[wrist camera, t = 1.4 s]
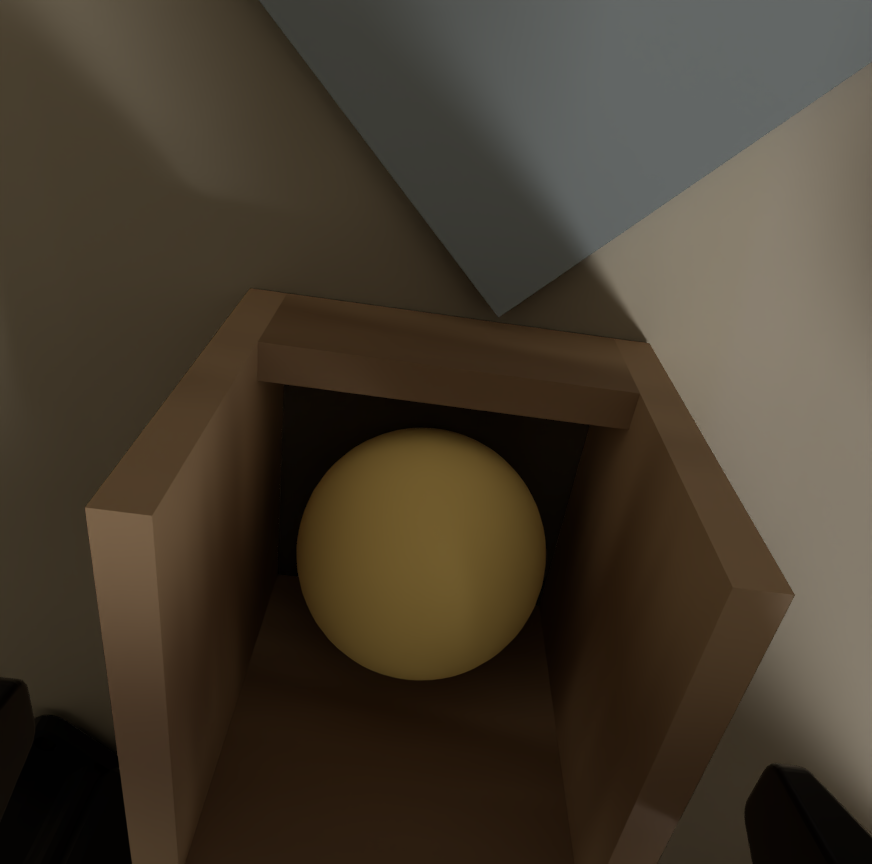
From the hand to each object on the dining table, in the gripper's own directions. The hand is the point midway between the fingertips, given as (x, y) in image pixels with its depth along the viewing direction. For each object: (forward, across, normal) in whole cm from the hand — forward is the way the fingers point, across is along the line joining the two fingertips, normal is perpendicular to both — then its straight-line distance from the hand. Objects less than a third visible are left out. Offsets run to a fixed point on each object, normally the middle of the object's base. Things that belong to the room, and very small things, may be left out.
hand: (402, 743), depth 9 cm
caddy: (+6, 0, 0) cm, 6 cm away
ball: (+4, 0, 0) cm, 4 cm away
